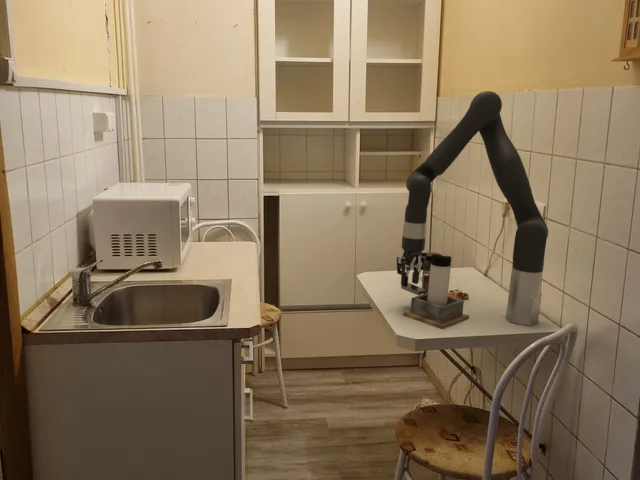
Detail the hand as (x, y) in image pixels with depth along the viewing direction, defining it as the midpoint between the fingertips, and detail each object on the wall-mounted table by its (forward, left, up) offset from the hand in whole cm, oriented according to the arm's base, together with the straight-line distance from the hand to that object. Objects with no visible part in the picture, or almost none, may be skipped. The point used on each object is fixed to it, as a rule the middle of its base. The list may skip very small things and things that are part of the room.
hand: (409, 284), depth 197 cm
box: (+5, -20, -8) cm, 22 cm away
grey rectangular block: (-2, 0, -2) cm, 2 cm away
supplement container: (+14, -33, -8) cm, 37 cm away
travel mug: (-11, 0, -7) cm, 13 cm away
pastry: (-5, -20, -9) cm, 23 cm away
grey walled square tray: (-11, 0, -8) cm, 14 cm away
